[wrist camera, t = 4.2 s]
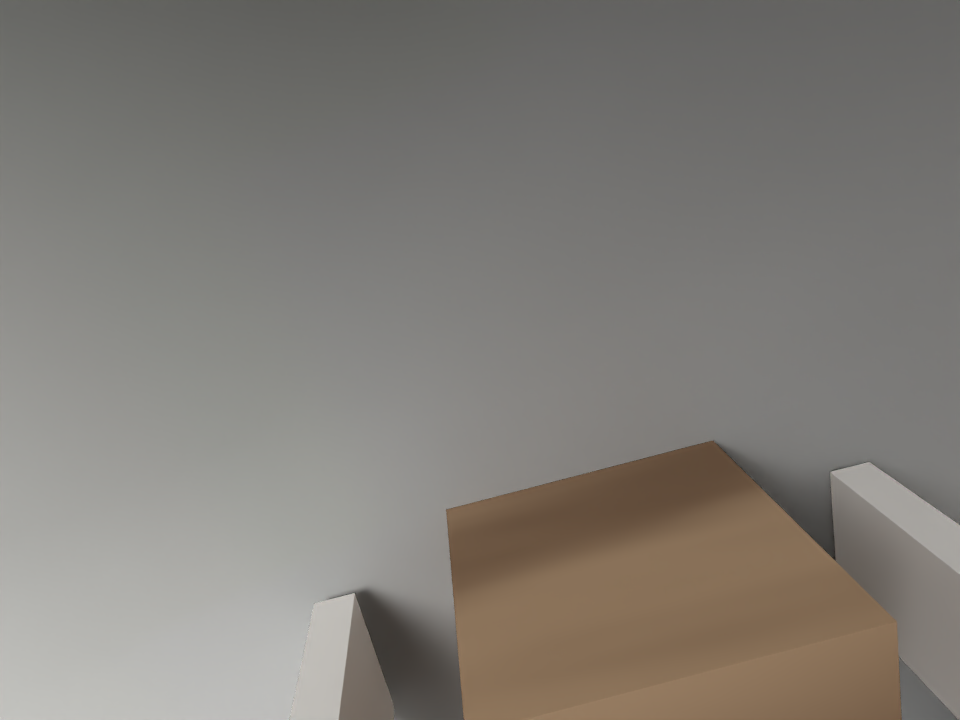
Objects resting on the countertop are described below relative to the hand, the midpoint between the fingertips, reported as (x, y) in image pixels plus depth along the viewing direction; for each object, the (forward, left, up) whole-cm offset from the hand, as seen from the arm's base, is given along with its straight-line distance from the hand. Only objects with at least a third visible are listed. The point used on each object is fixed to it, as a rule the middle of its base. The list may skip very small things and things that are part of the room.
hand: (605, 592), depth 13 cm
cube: (0, 0, 0) cm, 0 cm away
